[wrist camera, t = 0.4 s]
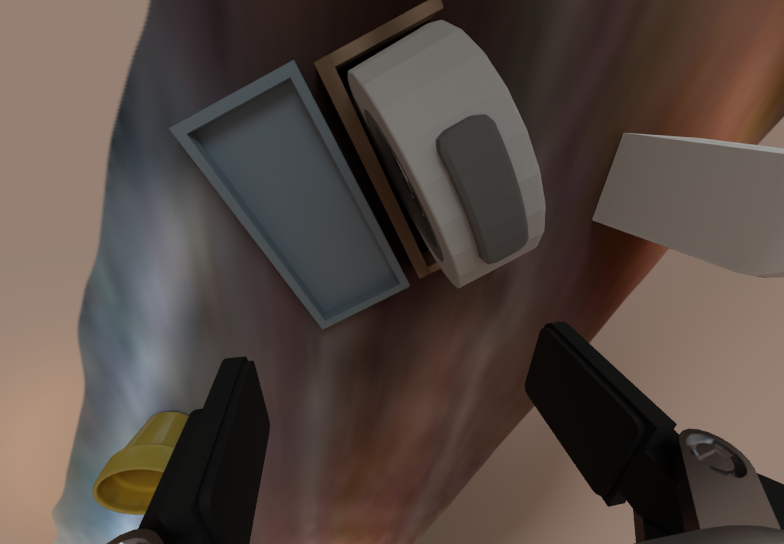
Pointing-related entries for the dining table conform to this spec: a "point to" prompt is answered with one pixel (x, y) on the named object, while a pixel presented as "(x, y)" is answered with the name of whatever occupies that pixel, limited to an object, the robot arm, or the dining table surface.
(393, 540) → the dining table surface
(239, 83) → the dining table surface
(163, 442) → the plant pot
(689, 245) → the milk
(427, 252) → the walnut stall
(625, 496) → the robot arm
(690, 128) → the dining table surface
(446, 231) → the alarm clock
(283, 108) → the slate tray
